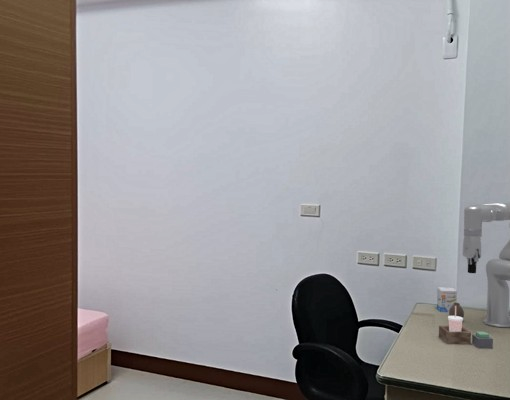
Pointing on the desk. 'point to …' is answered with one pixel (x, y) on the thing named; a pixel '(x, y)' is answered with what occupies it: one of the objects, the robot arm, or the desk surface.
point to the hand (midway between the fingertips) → (471, 272)
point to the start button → (482, 334)
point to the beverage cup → (455, 323)
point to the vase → (458, 310)
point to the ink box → (446, 298)
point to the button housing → (482, 342)
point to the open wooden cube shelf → (454, 336)
